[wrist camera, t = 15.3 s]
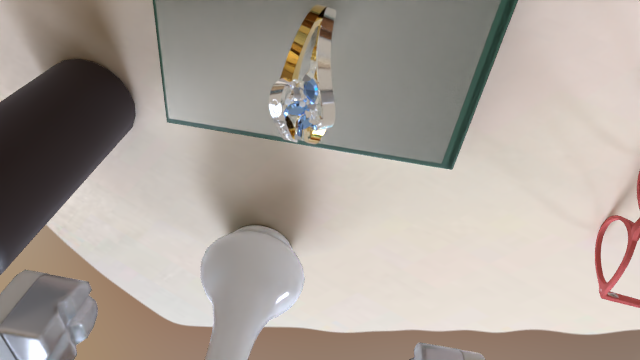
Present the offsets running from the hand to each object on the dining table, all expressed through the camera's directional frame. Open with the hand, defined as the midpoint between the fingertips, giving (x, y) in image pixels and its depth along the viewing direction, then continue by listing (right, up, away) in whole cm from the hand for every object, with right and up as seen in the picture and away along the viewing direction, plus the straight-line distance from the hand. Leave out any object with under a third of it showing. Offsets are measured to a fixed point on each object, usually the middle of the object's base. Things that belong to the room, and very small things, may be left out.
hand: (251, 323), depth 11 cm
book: (+2, +13, +17) cm, 22 cm away
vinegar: (-16, +10, +23) cm, 30 cm away
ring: (+2, +11, +15) cm, 19 cm away
